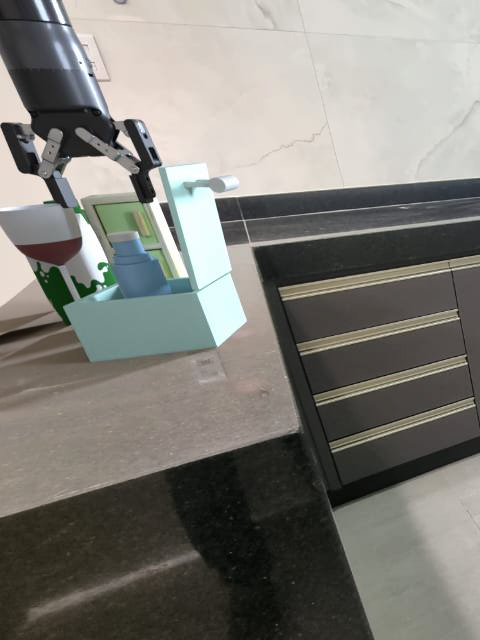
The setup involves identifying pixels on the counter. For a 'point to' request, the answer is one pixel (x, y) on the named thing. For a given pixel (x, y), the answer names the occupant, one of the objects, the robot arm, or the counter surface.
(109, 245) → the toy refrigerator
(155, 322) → the box
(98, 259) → the milk carton
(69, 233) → the wineglass
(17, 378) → the counter surface
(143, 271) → the water bottle
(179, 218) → the lid
